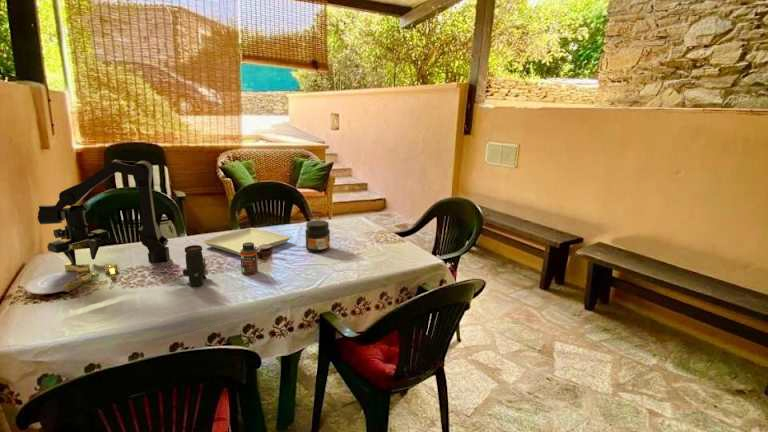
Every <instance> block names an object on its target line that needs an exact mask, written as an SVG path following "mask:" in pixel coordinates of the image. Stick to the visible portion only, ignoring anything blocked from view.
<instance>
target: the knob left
mask: <svg viewBox="0 0 768 432" xmlns="http://www.w3.org/2000/svg"><path fill="white" fill-rule="evenodd" d="M92 281H93V280H92V277H91V274H90V273H82V274H79V275H78V274H77V275H76V278H74V279H72V280H70V281H67V282H66V283H64V284H63V285H62V286H63V291H64V292H67V293H68V292H71V291H73V290H74V289H75V288H78V287H79V286H81V285H87V284H89V283H91V282H92Z"/></svg>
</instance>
